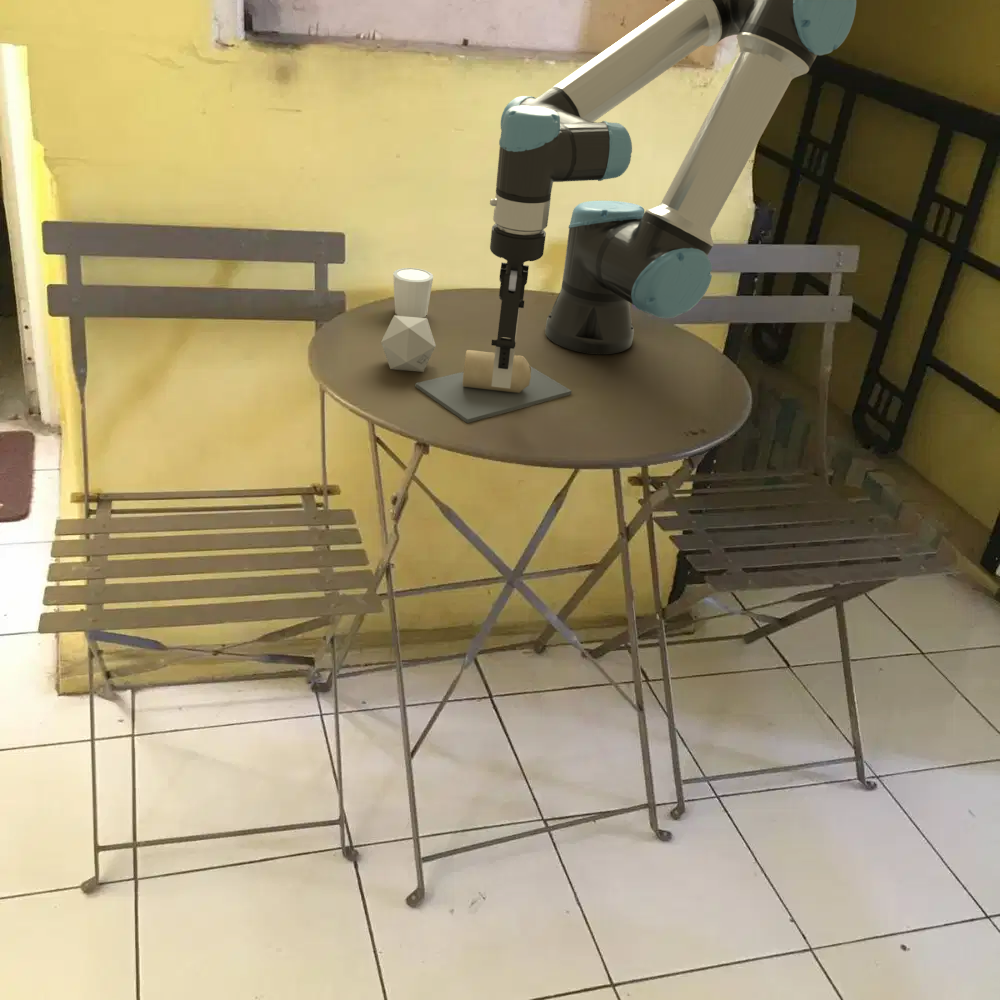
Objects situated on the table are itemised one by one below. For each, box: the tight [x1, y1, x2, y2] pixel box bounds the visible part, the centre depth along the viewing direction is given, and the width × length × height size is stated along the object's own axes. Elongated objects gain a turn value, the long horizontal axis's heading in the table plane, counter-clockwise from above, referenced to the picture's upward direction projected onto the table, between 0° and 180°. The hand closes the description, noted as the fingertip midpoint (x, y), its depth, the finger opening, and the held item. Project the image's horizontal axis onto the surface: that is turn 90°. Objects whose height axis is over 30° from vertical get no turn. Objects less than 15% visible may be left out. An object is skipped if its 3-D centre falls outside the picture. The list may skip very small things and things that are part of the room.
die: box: [380, 314, 436, 373], centre depth 156 cm, size 8×9×10 cm
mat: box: [415, 365, 573, 424], centre depth 154 cm, size 20×13×1 cm, turn 129°
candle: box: [463, 349, 532, 393], centre depth 152 cm, size 6×6×10 cm
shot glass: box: [392, 267, 434, 318], centre depth 175 cm, size 7×7×7 cm
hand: (503, 367), depth 152 cm, fingers open, 13 cm apart
